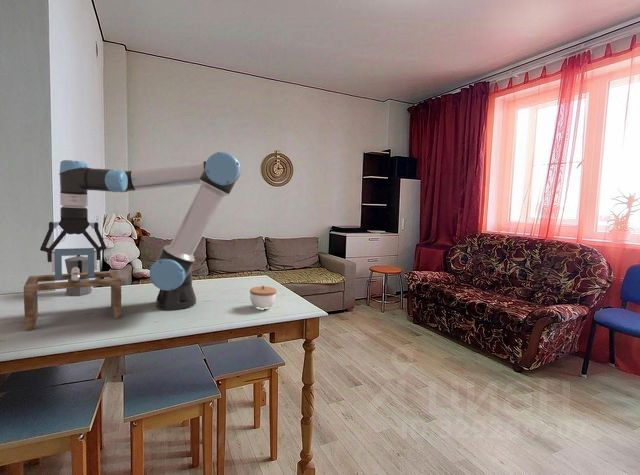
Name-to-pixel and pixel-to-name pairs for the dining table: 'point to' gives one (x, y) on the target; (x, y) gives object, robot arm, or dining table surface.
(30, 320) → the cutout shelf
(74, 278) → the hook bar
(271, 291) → the lidded jar
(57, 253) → the blue square arch
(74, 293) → the coffeepot
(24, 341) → the dining table surface
